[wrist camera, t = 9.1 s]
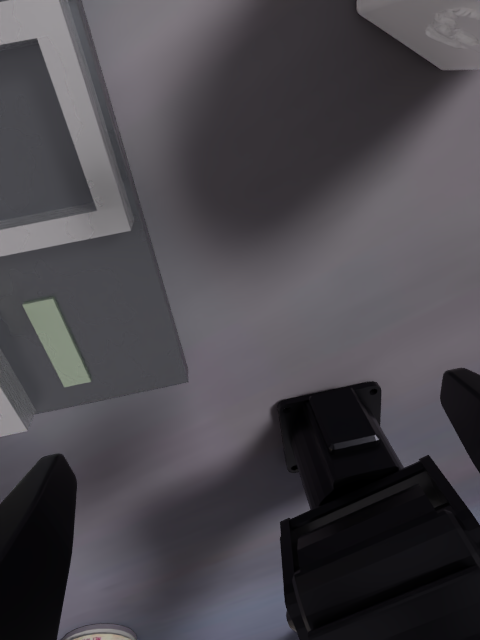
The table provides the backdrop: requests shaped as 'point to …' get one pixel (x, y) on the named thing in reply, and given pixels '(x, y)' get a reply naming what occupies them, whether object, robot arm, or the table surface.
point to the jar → (431, 28)
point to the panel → (70, 230)
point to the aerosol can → (101, 633)
